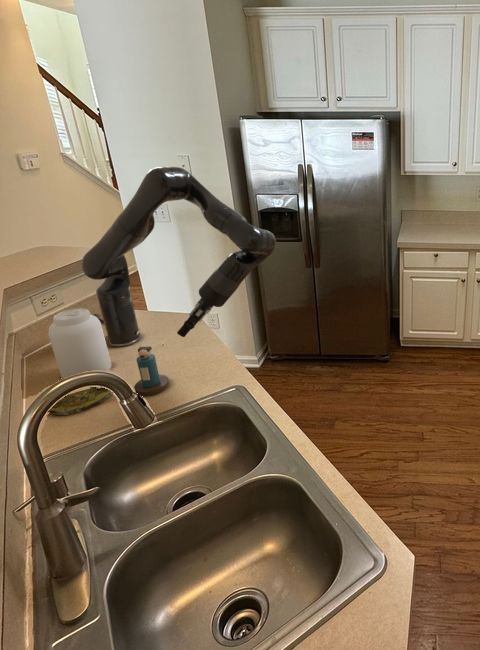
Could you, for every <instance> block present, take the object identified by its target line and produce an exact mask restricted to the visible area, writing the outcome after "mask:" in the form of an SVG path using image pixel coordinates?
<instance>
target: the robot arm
mask: <svg viewBox="0 0 480 650" xmlns="http://www.w3.org/2000/svg"><path fill="white" fill-rule="evenodd" d="M181 200H185V201H187V202H189V203H191V204H193V205H195V206H196V207H197V208H198V209H199V210H200V211H201V214H202V216H203V218H204V220H205V221H206V223H208V224H209V225H210V226H211V227H212V228H213V229H215V230H217V231H218V232H220V233H221V234H222V235H224V236H226V237H227V238H228V239H229V240H230V241H231V242H232V243H233V244H234V245H235V246H236V247H237V248H239V250H238V251H233V252H231V253H229V255H228V256H227V257H226V258H225V259H224V260H223V261H222V263H220V265H219V266H218V267H217V268H216V269H215V270H214V271H213V272H212V273H211V275H210V276H209V277H208V278H207V279H206V280H205V282H203V284H202V285H201V286H200V288H199V289H198V295H199V297H200V299H198V301H197V302H196V303H195V305H194V307H193V309H192V310H191V311H190V312H189V313H188V316H189V317H188V318H187V319H186V320H185V321H184V322H183V324H182V325H181V327H180V328H179V329H178V330H177V335H178V336H180V337H182V338H185V337H186V336H187V334H188V333H189V332H190V331H191V330H193V329H194V328H195V327H196V325H197V324H198V323H200V322H201V321H202V320H203V319H204V318H205V316H207V315H208V314H209V313H210V312H211V311H212V309H213V307H215V308H222V307H223V306H224V305H225V304H226V303H227V301H229V299H231V297H232V296H233V294H235V292H236V291H237V289H239V288H240V285H241V284H242V282H243V281H244V280H245V279H246V277H247V276H248V275H249V274H250V272H251V271H252V270H254V269H255V268H256V267H258V266H259V265H260V264H261V263H263V262H264V261H265V260H267V258H269V257H270V255H271V254H273V252H274V250H275V248H276V244H277V239H276V236H275V235H274V233H272V232H271V231H269V230H267V229H263V228H258V227H256V226H254V225H252V224H250V223H249V222H248V220H247V219H246V217H245V216H243V215H242V214H240V213H239V212H238V211H236V210H234V209H233V208H232V207H230V206H228V205H227V204H226V203H224V202H223V201H222V200H220V199H218V197H216V195H214V194H213V193H212V192H211V191H210V190H209V189H207V188H206V187H205V186H204V185H203V184H202V183H201V182H200V181H199V180H198V179H197V178H196V177H195V176H194V175H192V174H191V173H190V172H189V171H188V170H186V169H185V168H183V167H179V166H159V167H154V168H151V169H150V170H149V171H147V173H146V174H145V176H144V178H143V179H142V181H141V183H140V185H139V187H138V188H137V190H136V192H135V193H134V195H133V197H132V198H131V199H130V201H129V202H128V204H127V205H126V206H125V208H124V209H123V210H122V211H121V212H120V213H119V215H118V216H117V217H116V218H115V220H114V221H113V223H112V224H111V225H110V227H109V228H108V229H107V230H106V232H105V233H104V234H103V235H102V236H101V239H99V241H97V243H96V244H94V246H93V247H92V248H90V249H89V250H88V251H87V252H86V253H85V254H84V255H83V256H82V259H81V270H82V272H83V274H84V275H85V276H86V277H87V278H89V279H92V280H95V281H96V280H97V281H99V280H100V281H101V280H104V281H103V282H102V283H101V284H100V285H99V286H98V287H97V288H96V290H95V293H96V297H97V301H98V305H99V309H100V312H101V316H102V318H100V317H99V316H98V314H97V313H94V314H93V315H94V316H96V317H97V318H98V319H99V321H100V322H101V323H104V328H105V331H106V336H107V339H108V345H109V346H111V347H115V348H116V347H117V348H119V347H120V348H121V347H126V346H130V345H133V344H136V343H137V342H139V341H140V340H141V339H142V336H141V333H140V332H141V328H139V322H138V319H137V315H136V310H135V307H134V302H133V298H132V294H131V289H130V288H131V278H130V273H129V265H128V262H127V259H126V254H127V253H129V252H131V251H132V250H134V249H135V248H136V247H138V246H140V245H141V244H142V243H143V242H145V240H146V239H147V238H148V237H149V235H151V233H152V232H153V230H154V229H155V225H156V221H155V215H154V213H155V212H156V211H157V210H158V209H159V208H160V207H161V206H162V205H163V204H165V203H166V202H174V201H181Z"/></svg>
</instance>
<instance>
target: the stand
mask: <svg viewBox="0 0 480 650" xmlns="http://www.w3.org/2000/svg"><path fill="white" fill-rule="evenodd" d="M159 378H160V382H159V383H158V384H157V385H155V386H152V387H144V386H143V384H142V380H141V379H140V380H138V381H137V382H136V383H135V384H134V387H133V388H134V392H135V394H136V393H138V394H139V395H141V396H140V397H152V396H155V395H158V394H160V393H162V392H164V391H165V390H166V389H168V388H169V386H170V381H169V377H168V376H166V375H164V374H159ZM139 395H138V396H139Z"/></svg>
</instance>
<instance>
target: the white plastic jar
mask: <svg viewBox="0 0 480 650" xmlns="http://www.w3.org/2000/svg"><path fill="white" fill-rule="evenodd" d="M47 335H48V338H49V341H50V345H51V348H52V351H53V354H54V357H55V360H56V364H57V366H58V370H59V373H60V376H61V379H63V378H66V377H69V376H71V375H75V374H78V373H82V372H85V371H92V370H103V371H108V372H109V371H110V370H111V368H112V360H111V357H110V352H109V349H108V345H107V341H106V338H105V334H104V329H103V326H102V321H99V319H98V318H97V317H96V316H94V314H91V311H90V310H89V309H87V308H83V307H81V308H80V307H77V308H69V309H66V310H63V311H60V312H58V313H56V314H55V315H53V319H52V323H51V325H49V326H48V334H47Z"/></svg>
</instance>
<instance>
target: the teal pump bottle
mask: <svg viewBox="0 0 480 650" xmlns="http://www.w3.org/2000/svg"><path fill="white" fill-rule="evenodd" d="M151 350H152V346H139V347H138V348H137V353H138V357H137V358H136V363H137V368H138V371H139V375H140V380H142V384H143V386H144V387H152V386H155V385H157V384H158V383H159V382H160V378H159V375H160V374H159V369H158V364H157V360H156V356H155V354H154V353H152V351H151Z"/></svg>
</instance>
